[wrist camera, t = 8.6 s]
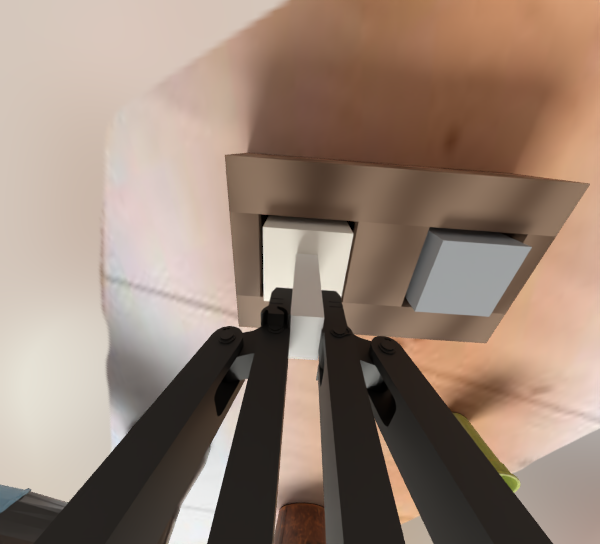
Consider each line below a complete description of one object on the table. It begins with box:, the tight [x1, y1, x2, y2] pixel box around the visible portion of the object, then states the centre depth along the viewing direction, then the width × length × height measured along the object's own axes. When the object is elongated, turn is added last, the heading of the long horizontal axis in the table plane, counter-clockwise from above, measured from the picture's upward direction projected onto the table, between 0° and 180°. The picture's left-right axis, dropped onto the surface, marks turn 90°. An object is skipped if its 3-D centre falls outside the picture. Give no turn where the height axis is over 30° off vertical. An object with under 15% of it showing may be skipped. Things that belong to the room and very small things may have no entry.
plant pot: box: [453, 413, 520, 492], centre depth 34 cm, size 9×9×9 cm
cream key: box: [263, 215, 353, 301], centre depth 18 cm, size 6×6×4 cm
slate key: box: [405, 227, 532, 317], centre depth 18 cm, size 6×6×4 cm
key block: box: [225, 153, 590, 343], centre depth 20 cm, size 23×14×6 cm, turn 86°
